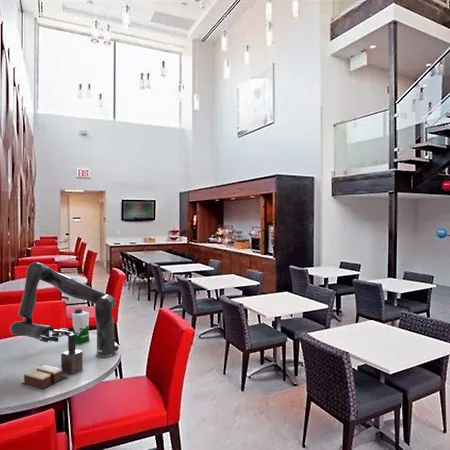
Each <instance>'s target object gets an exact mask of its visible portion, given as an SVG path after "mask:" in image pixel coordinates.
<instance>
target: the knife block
mask: <svg viewBox="0 0 450 450" xmlns="http://www.w3.org/2000/svg"><path fill="white" fill-rule="evenodd" d="M60 360H61V361H60V364H61V365H60V367H61V368H60V369H62V374H65V375H68V376H74V375H75V374H77V373H79V372H81V371H83V370H84V369H83V367H84V366H83V350H81V349H76V348H75V353H70V352H68V350H66V351H64V352H62V353H60Z"/></svg>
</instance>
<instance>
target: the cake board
mask: <svg viewBox="0 0 450 450" xmlns="http://www.w3.org/2000/svg"><path fill="white" fill-rule="evenodd" d="M67 379H69V377H68V376H64V375H62V379H61V380H59V381H57V382H55V383H53V382H51V385H49V386H47V387H45V388H43V389H41V388H37V387H34V386H30V385H27V384H24V382H22V383H21V385H24V386H27V387H31V388H34V389H38V390H40V391H45V390H48V389H49V388H51V387H53V386H55V385H58V384H59V383H61V382H63V381H65V380H67Z"/></svg>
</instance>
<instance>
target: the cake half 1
mask: <svg viewBox="0 0 450 450" xmlns="http://www.w3.org/2000/svg"><path fill="white" fill-rule="evenodd" d="M23 380H24V381H23V383H24V384H27V385H30V386H29V387H31V386H34V387H37V388H41V389H43V388H45V387H47V386H49V385H51V374H48V373H44V372H40V371H37V369H31V370H29V371H26V372H24V373H23ZM24 384H23V385H24ZM27 385H26V386H27ZM34 387H33V388H34ZM37 388H36V389H37ZM41 389H40V390H41Z"/></svg>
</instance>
